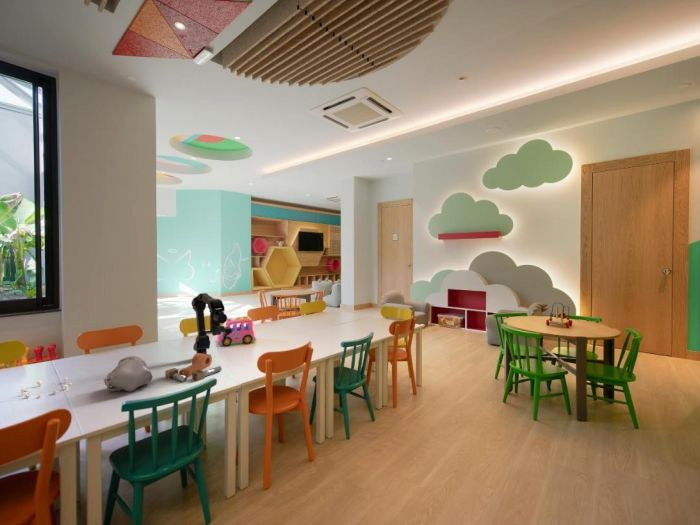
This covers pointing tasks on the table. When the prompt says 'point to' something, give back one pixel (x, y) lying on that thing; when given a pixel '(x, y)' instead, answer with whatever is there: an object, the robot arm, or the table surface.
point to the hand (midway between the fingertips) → (214, 345)
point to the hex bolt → (174, 375)
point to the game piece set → (40, 385)
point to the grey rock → (128, 375)
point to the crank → (197, 364)
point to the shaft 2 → (204, 373)
